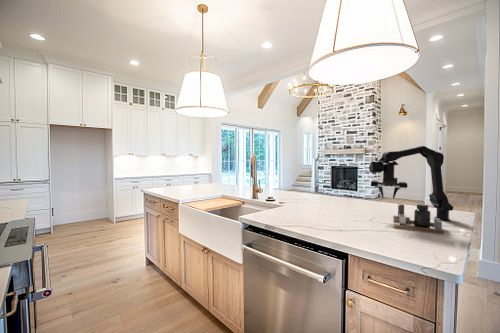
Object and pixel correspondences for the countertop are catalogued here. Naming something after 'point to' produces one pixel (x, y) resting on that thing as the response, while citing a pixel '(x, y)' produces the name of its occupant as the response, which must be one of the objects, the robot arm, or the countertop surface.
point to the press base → (436, 224)
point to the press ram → (401, 215)
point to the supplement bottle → (422, 216)
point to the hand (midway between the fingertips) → (388, 198)
